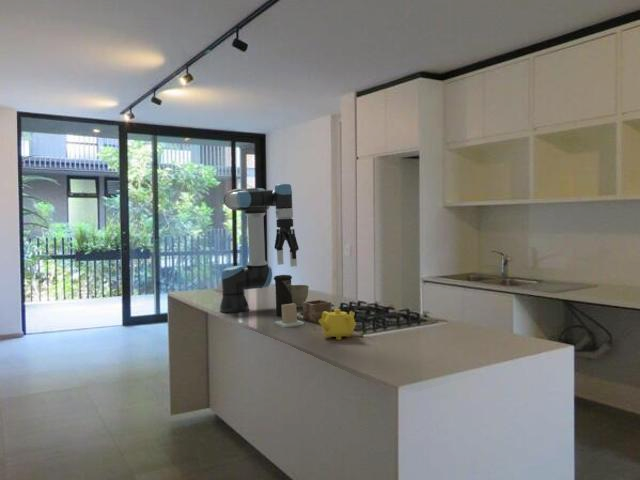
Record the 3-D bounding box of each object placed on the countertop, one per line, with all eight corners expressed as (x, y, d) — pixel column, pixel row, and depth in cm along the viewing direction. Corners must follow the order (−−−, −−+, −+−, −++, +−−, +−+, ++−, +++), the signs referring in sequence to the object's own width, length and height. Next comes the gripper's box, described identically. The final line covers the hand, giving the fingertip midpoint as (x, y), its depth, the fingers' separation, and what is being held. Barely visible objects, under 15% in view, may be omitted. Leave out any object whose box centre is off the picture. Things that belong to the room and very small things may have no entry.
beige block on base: (275, 324, 244) (274, 304, 243) (295, 321, 248) (294, 301, 248) (284, 327, 235) (283, 307, 234) (304, 324, 239) (303, 304, 239)
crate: (303, 319, 251) (302, 302, 251) (321, 316, 256) (320, 299, 256) (313, 322, 243) (312, 304, 242) (332, 319, 248) (331, 302, 247)
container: (293, 316, 260) (291, 275, 259) (274, 316, 260) (272, 276, 259) (294, 312, 269) (292, 273, 268) (276, 313, 269) (274, 274, 268)
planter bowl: (296, 303, 297) (295, 284, 297) (315, 306, 286) (314, 285, 285) (273, 307, 287) (272, 287, 286) (292, 310, 275) (291, 289, 274)
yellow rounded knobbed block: (339, 329, 225) (338, 303, 225) (371, 334, 213) (370, 307, 212) (304, 338, 211) (303, 311, 211) (337, 345, 199) (335, 315, 198)
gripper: (265, 219, 248) (268, 264, 249) (289, 218, 226) (291, 267, 228) (280, 218, 252) (282, 262, 253) (304, 217, 230) (307, 266, 231)
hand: (287, 265), depth 240 cm, fingers open, 13 cm apart
